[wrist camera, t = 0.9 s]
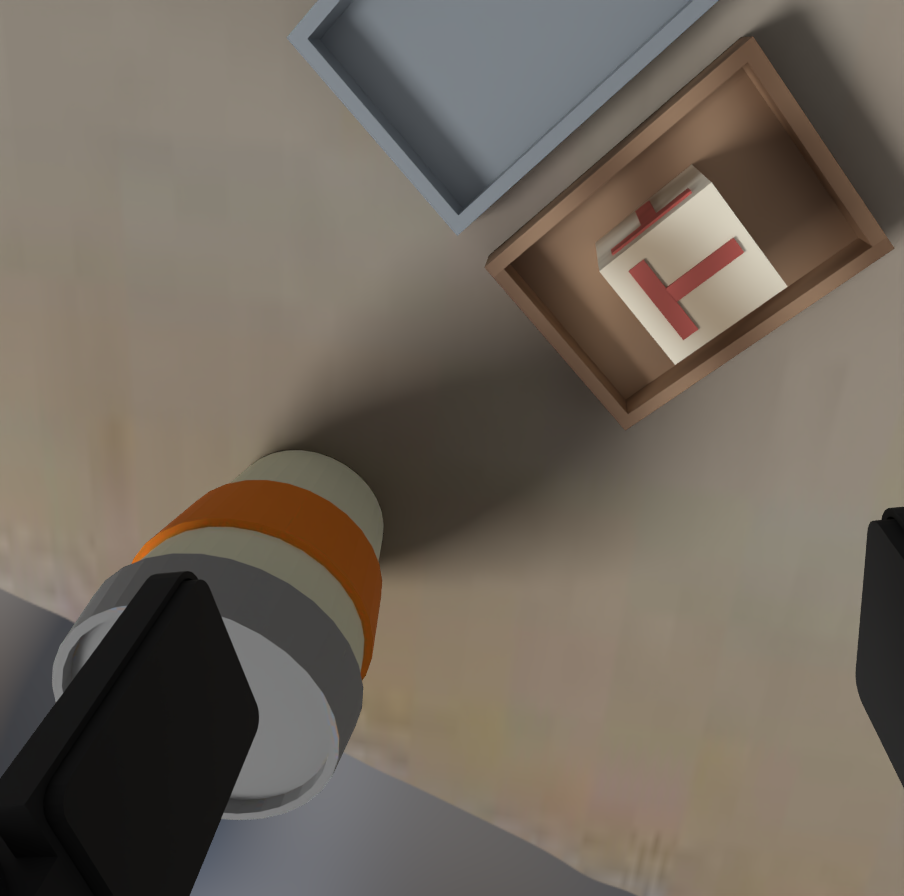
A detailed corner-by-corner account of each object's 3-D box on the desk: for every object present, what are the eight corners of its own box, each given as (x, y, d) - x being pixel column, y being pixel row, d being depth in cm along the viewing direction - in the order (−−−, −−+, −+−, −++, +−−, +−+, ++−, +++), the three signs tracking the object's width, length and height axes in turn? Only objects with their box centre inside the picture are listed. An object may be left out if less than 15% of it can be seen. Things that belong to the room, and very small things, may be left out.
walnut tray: (740, 37, 30) (752, 36, 28) (875, 236, 32) (894, 248, 30) (489, 255, 35) (484, 267, 33) (622, 411, 38) (625, 430, 36)
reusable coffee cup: (262, 376, 40) (109, 538, 26) (457, 504, 42) (406, 714, 28) (170, 530, 45) (6, 727, 32) (345, 636, 47) (259, 862, 34)
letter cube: (690, 162, 32) (710, 180, 27) (758, 255, 33) (788, 287, 28) (593, 241, 34) (597, 270, 29) (661, 325, 35) (675, 365, 30)
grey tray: (548, -249, 26) (546, -273, 25) (714, -2, 29) (725, -6, 27) (303, 38, 32) (286, 37, 30) (463, 225, 34) (457, 235, 33)
